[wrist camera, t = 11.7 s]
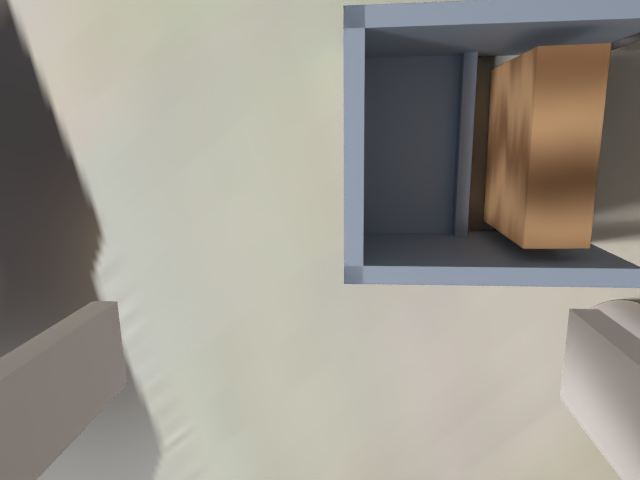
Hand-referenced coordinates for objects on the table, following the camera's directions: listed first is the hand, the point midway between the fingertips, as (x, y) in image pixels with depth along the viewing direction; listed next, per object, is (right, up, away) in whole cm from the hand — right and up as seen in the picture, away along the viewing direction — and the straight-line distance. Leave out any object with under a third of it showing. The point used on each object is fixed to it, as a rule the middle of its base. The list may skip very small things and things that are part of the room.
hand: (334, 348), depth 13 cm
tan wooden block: (+15, +11, +24) cm, 30 cm away
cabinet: (+12, +11, +24) cm, 29 cm away
